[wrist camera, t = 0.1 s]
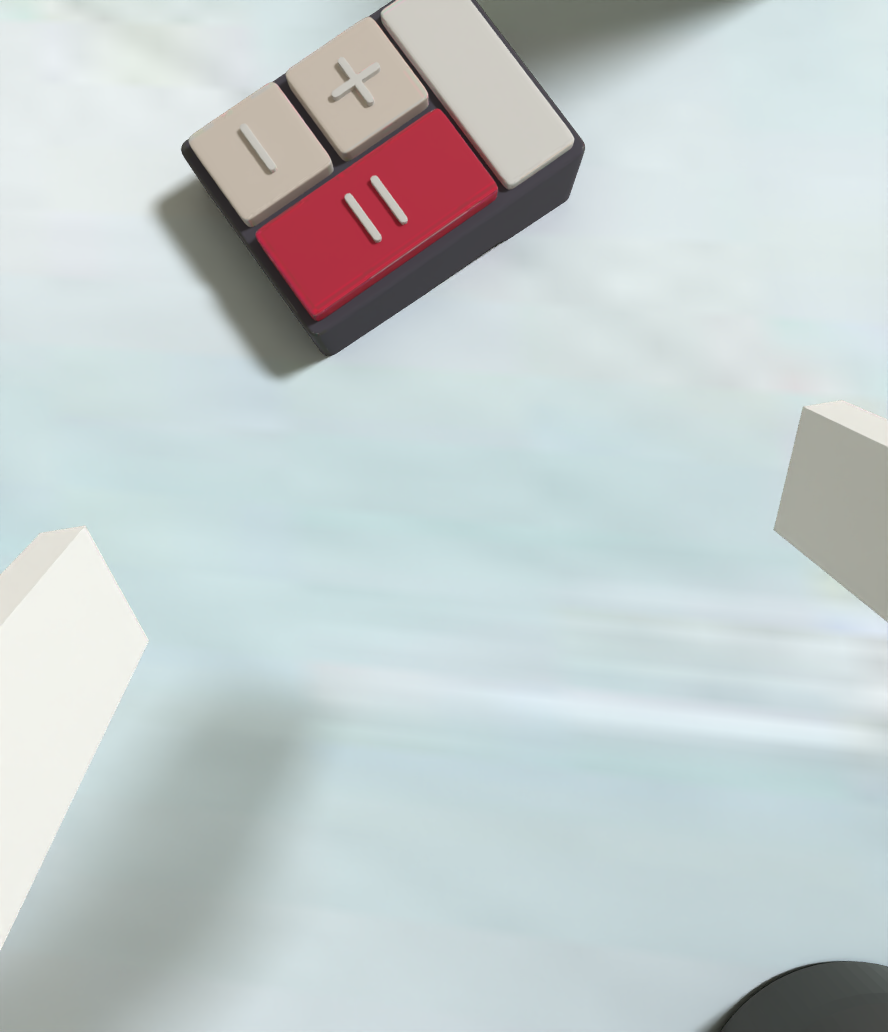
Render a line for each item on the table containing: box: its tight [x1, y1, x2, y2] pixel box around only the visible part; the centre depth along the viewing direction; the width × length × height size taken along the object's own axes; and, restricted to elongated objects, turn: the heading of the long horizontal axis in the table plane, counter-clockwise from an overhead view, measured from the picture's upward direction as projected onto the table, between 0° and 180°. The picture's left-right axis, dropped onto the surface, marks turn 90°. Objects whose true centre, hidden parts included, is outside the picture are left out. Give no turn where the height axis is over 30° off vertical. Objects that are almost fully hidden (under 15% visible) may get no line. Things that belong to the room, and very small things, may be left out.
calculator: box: [181, 0, 585, 356], centre depth 26 cm, size 11×4×15 cm
